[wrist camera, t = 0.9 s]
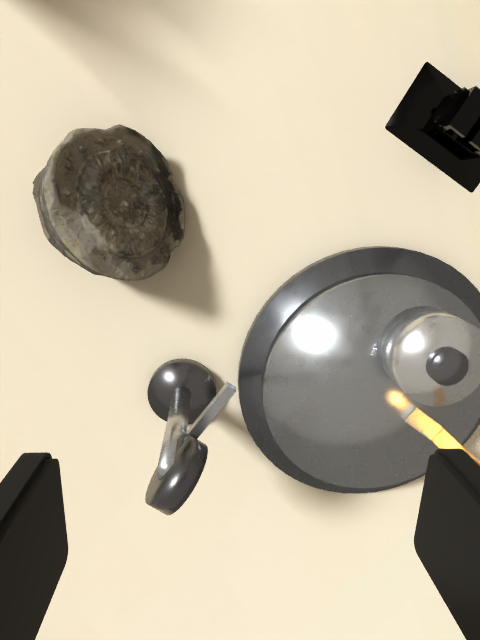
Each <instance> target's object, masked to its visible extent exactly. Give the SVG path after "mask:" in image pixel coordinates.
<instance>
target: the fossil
mask: <svg viewBox="0 0 480 640" xmlns="http://www.w3.org/2000/svg"><path fill="white" fill-rule="evenodd" d="M172 175H173V174H172V172H171V171H170V169H169V165H168V162H167V160H166V159H165V158H164V156H163V155H162V154H161V152H160V151H159V150H158V149H157V148H156V147H155V146H154V145H153V144H152V143H151V142H150V141H149V140H148V139H146V138H145V137H144V136H143V135H141V134H140V133H138V132H136V131H135V130H133V129H130V128H128V127H125V126H122V125H116V126H113V127H111V128H109V129H107V130H102V129H96V128H94V129H88V128H81V129H76V130H73V131H71V132H70V133H68V135H67V136H66V138H65V139H64V140H63V141H62V142H61V143H60V144H59V146H57V148H56V149H55V150H54V151H53V153H52V155H51V156H50V158H49V160H48V162H47V166H46V167H45V168H44V169H43V170H42V171H41V172H40V173H39V174H38V175H37V176H36V178H35V180H34V181H33V184H34V188H33V195H34V199H35V201H36V204H37V209H38V213H39V217H40V221H41V225H42V228H43V231H44V234H45V236H46V237H47V239H48V241H49V242H50V243H51V244H52V245H53V246H54V247H55V248H56V249H57V250H59V251H60V252H61V253H62V254H63V255H64V256H65V257H67V258H68V259H69V260H71V261H72V262H74V263H76V264H78V265H79V266H81V267H82V268H84V269H86V270H88V271H89V272H91V273H93V274H96V275H103V276H106V277H110V278H115V279H124V280H141V279H145V278H148V277H150V276H152V275H154V274H155V273H157V272H158V271H160V270H161V269H163V268H164V267H165V266H166V264H167V263H168V261H169V258H170V252H171V251H172V250H173V249H174V248H176V247H177V246H178V245H179V244H180V242H181V240H182V239H183V237H184V226H185V225H184V222H185V208H184V201H183V198H182V196H181V194H180V192H179V190H178V189H177V187H176V186H175V184H174V182H173V180H172Z"/></svg>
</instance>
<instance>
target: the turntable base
mask: <svg viewBox="0 0 480 640" xmlns="http://www.w3.org/2000/svg"><path fill="white" fill-rule="evenodd" d="M379 272H389V273H400V274H406V275H411V276H414V277H417V278H420V279H423V280H426V281H429V282H431V283H434V284H436V285H438V286H440V287H442V288H444V289H446V290H448V291H450V292H451V293H452V294H454V295H455V296H456V297H458V298H459V299H460V300H461V301H462V302H463V303H464V304H465V305H466V306H467V307H468V308H469V309H470V310H471V311H472V312H473V314H474V315H475V317H476V318H477V319H478V321H479V323H480V293H479V291H478V290H477V289H476V287H475V286H474V285H473V284H472V283H471V282H470V281H469V280H468V279H467V278H466V277H465V276H464V275H462V274H461V273H460V272H458V271H457V270H456V269H454V268H453V267H452V266H450V265H448V264H446V263H444V262H443V261H441V260H439V259H437V258H435V257H432V256H429V255H426V254H423V253H421V252H417V251H413V250H408V249H403V248H398V247H384V246H375V247H361V248H356V249H352V250H347V251H342V252H339V253H337V254H334V255H331V256H328V257H325V258H323V259H321V260H319V261H317V262H315V263H313V264H311V265H309V266H307V267H306V268H304V269H303V270H301V271H300V272H298V273H297V274H295V275H294V276H292V277H291V278H290V279H289V280H288V281H286V282H285V283H284V284H283V285H282V286H281V287H279V288H278V290H277V291H276V292H275V293H274V294H273V295H272V296H271V297H270V298H269V299H268V301H267V302H266V303H265V305H264V306H263V307H262V309H261V310H260V312H259V313H258V315H257V316H256V318H255V320H254V322H253V324H252V326H251V328H250V329H249V331H248V334H247V337H246V339H245V342H244V345H243V348H242V352H241V357H240V362H239V371H238V389H239V399H240V405H241V409H242V414H243V417H244V420H245V423H246V425H247V428H248V430H249V432H250V434H251V436H252V438H253V439H254V441H255V443H256V444H257V446H258V447H259V448H260V450H261V451H262V452H263V454H264V455H265V456H266V457H267V458H268V459H269V460H270V461H271V462H272V463H273V464H274V465H275V466H276V467H278V468H279V469H280V470H282V471H283V472H284V473H286V474H287V475H289V476H291V477H293V478H294V479H296V480H298V481H300V482H302V483H305V484H307V485H310V486H312V487H315V488H319V489H323V490H327V491H333V492H340V493H367V492H376V491H381V490H386V489H391V488H394V487H397V486H400V485H403V484H406V483H408V482H411V481H413V480H415V479H417V478H420V477H422V476H423V475H425V474H426V472H425V473H423V474H421V475H419V476H416V477H414V478H412V479H410V480H407V481H404V482H401V483H398V484H394V485H389V486H384V487H377V488H350V487H342V486H338V485H334V484H330V483H327V482H325V481H322V480H320V479H317V478H315V477H313V476H311V475H310V474H308V473H306V472H304V471H303V470H302V469H300V468H299V467H298V466H296V465H295V464H294V463H293V462H292V461H291V460H290V459H289V458H288V457H287V456H286V455H285V454H284V453H283V451H282V450H281V449H280V447H279V446H278V444H277V443H276V441H275V439H274V437H273V435H272V433H271V431H270V428H269V425H268V422H267V419H266V415H265V411H264V406H263V401H262V388H261V384H262V373H263V368H264V364H265V359H266V356H267V354H268V351H269V348H270V346H271V343H272V342H273V340H274V338H275V336H276V334H277V332H278V331H279V329H280V328H281V326H282V325H283V324H284V322H285V321H286V319H287V318H288V317H289V316H290V315H291V314H292V313H293V312H294V311H295V310H296V309H297V308H298V307H299V306H300V305H301V304H302V303H303V302H305V301H306V300H307V299H308V298H309V297H311V296H312V295H314V294H315V293H317V292H319V291H320V290H322V289H323V288H325V287H327V286H329V285H331V284H333V283H336V282H338V281H341V280H344V279H347V278H349V277H352V276H357V275H362V274H367V273H379ZM479 424H480V417H479V419H478V421H477V423H476V424H475V426H474V428H473V429H472V431H471V432H470V433H469V435H468V436H467V438H466V439H465V440H464V441H463V442H462V443H461V444H462V445H464V443H465V442H466V441H467V440H468V439H469V438H470V437H471V435H472V434H473V433H474V431H475V430H476V428H477V427H478V425H479Z"/></svg>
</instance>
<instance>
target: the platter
mask: <svg viewBox="0 0 480 640" xmlns="http://www.w3.org/2000/svg"><path fill="white" fill-rule="evenodd" d="M416 306H432V307H436V308H439V309H441V310H443V311H445V312H447V313H450V314H452V315H454V316H456V317H458V318H460V319H462V320H464V321H466V322H468V323H470V324H472V325H474V326H475V327H477V328H478V329H479V330H480V323H479V321H478V319H477V318H476V317H475V315H474V314H473V312H472V311H471V310H470V309H469V308H468V307H467V306H466V305H465V304H464V303H463V302H462V301H461V300H460V299H459V298H458V297H456V296H455V295H454V294H452V293H451V292H450V291H448V290H446V289H444V288H442V287H440V286H438V285H436V284H434V283H431V282H429V281H426V280H423V279H420V278H417V277H414V276H411V275H406V274H400V273H389V272H379V273H367V274H362V275H357V276H352V277H349V278H347V279H344V280H341V281H338V282H336V283H333V284H331V285H329V286H327V287H325V288H323V289H322V290H320V291H319V292H317V293H315V294H314V295H312V296H311V297H309V298H308V299H307V300H306V301H305V302H303V303H302V304H301V305H300V306H299V307H298V308H297V309H296V310H295V311H294V312H293V313H292V314H291V315H290V316H289V317H288V318H287V319H286V321H285V322H284V324H283V325H282V326H281V328H280V329H279V331H278V332H277V334H276V336H275V338H274V340H273V342H272V343H271V346H270V348H269V351H268V354H267V356H266V359H265V364H264V368H263V373H262V384H261V388H262V401H263V406H264V411H265V415H266V419H267V422H268V425H269V428H270V431H271V433H272V435H273V437H274V439H275V441H276V443H277V444H278V446H279V447H280V449H281V450H282V451H283V453H284V454H285V455H286V456H287V457H288V458H289V459H290V460H291V461H292V462H293V463H294V464H295V465H296V466H298V467H299V468H300V469H302V470H303V471H304V472H306V473H308V474H310V475H311V476H313V477H315V478H317V479H320V480H322V481H325V482H327V483H330V484H334V485H338V486H342V487H350V488H377V487H384V486H389V485H394V484H398V483H401V482H404V481H407V480H410V479H412V478H414V477H416V476H419V475H421V474H423V473H425V472H426V470H427V464H428V459H429V457H430V455H432V454H434V453H435V451H436V450H437V449H441V448H460V449H463V450H464V451H465V452H466V453H467V454H468V455H469V456H470V457H471V458H472V459H473V460H474V461H475V462H476V463H477V464H478V465H479V466H480V461H479V460H478V459H477V458H476V457H475V456H474V455H473V454H472V453H471V452H470V451H469V450H468V449H467V448H466V447H465V446H463V445H462V444H461V443H462V442H463V441H464V440H465V439H466V438H467V436H468V435H469V433H470V432H471V431H472V429H473V428H474V426H475V424H476V423H477V421H478V419H479V417H480V384H479V386H478V387H477V388H476V389H475V390H474V391H473V392H472V393H471V394H469V395H468V396H467V397H465V398H464V399H462V400H460V401H458V402H456V403H453V404H450V405H445V406H428V405H424V404H421V403H419V402H416V401H415V400H413V399H412V398H411V397H410V396H408V395H407V394H406V393H405V392H404V391H403V390H402V389H401V388H400V387H399V386H398V385H397V384H396V383H395V382H394V381H393V380H392V379H391V378H390V377H389V376H388V375H387V374H386V372H385V371H384V370H383V368H382V367H381V364H380V362H379V358H378V343H379V339H380V336H381V334H382V332H383V330H384V328H385V327H386V325H387V324H388V323H389V322H390V321H391V320H392V319H393V318H394V317H395V316H396V315H398V314H399V313H401V312H402V311H404V310H407V309H409V308H412V307H416Z"/></svg>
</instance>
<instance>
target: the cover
mask: <svg viewBox="0 0 480 640" xmlns="http://www.w3.org/2000/svg"><path fill="white" fill-rule="evenodd" d="M378 358H379V362H380V364H381V367H382V368H383V370H384V371H385V372H386V374H387V375H388V376H389V377H390V378H391V379H392V380H393V381H394V382H395V383H396V384H397V385H398V386H399V387H400V388H401V389H402V390H403V391H404V392H405V393H406V394H407V395H408V396H410V397H411V398H412V399H413V400H415V401H416V402H419V403H421V404H424V405H428V406H445V405H450V404H453V403H456V402H458V401H460V400H462V399H464V398H465V397H467V396H468V395H469V394H471V393H472V392H473V391H474V390H475V389H476V388H477V387H478V386H479V384H480V330H479V329H478V328H477V327H475V326H474V325H472V324H470V323H468V322H466V321H464V320H462V319H460V318H458V317H456V316H454V315H452V314H450V313H447V312H445V311H443V310H441V309H439V308H436V307H432V306H416V307H412V308H409V309H407V310H404V311H402V312H401V313H399V314H398V315H396V316H395V317H394V318H393V319H392V320H391V321H390V322H389V323H388V324H387V325H386V327H385V328H384V330H383V332H382V334H381V336H380V339H379V343H378Z"/></svg>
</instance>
